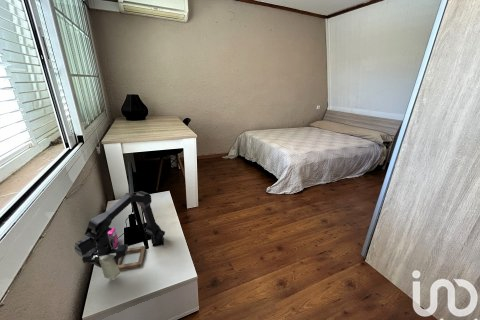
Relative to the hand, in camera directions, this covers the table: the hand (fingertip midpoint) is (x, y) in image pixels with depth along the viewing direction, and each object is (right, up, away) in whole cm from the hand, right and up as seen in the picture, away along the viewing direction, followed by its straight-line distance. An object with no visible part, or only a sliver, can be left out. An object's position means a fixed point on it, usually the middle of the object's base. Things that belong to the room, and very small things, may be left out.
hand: (109, 265), depth 106 cm
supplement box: (-15, -1, +26) cm, 30 cm away
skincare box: (0, -7, +3) cm, 7 cm away
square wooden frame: (+3, -5, +16) cm, 17 cm away
